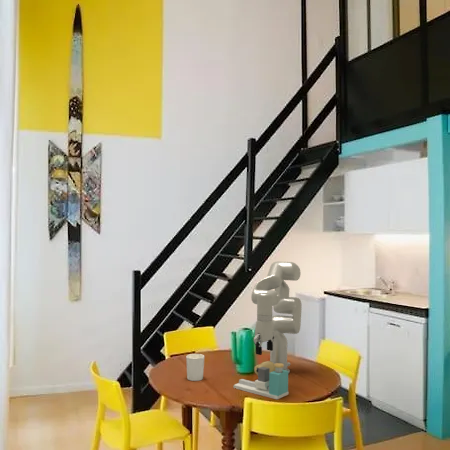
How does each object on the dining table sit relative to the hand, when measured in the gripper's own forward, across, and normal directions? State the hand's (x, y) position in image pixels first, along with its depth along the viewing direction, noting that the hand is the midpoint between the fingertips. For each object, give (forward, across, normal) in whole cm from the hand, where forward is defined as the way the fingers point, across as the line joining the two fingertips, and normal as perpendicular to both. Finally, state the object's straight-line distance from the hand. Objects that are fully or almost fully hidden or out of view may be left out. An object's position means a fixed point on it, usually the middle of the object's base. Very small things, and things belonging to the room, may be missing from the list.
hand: (264, 352), depth 248 cm
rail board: (+19, +1, -1) cm, 19 cm away
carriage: (+17, +1, 0) cm, 17 cm away
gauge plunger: (+11, +1, +9) cm, 14 cm away
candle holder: (+20, +7, -39) cm, 45 cm away
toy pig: (+20, -14, -8) cm, 26 cm away
